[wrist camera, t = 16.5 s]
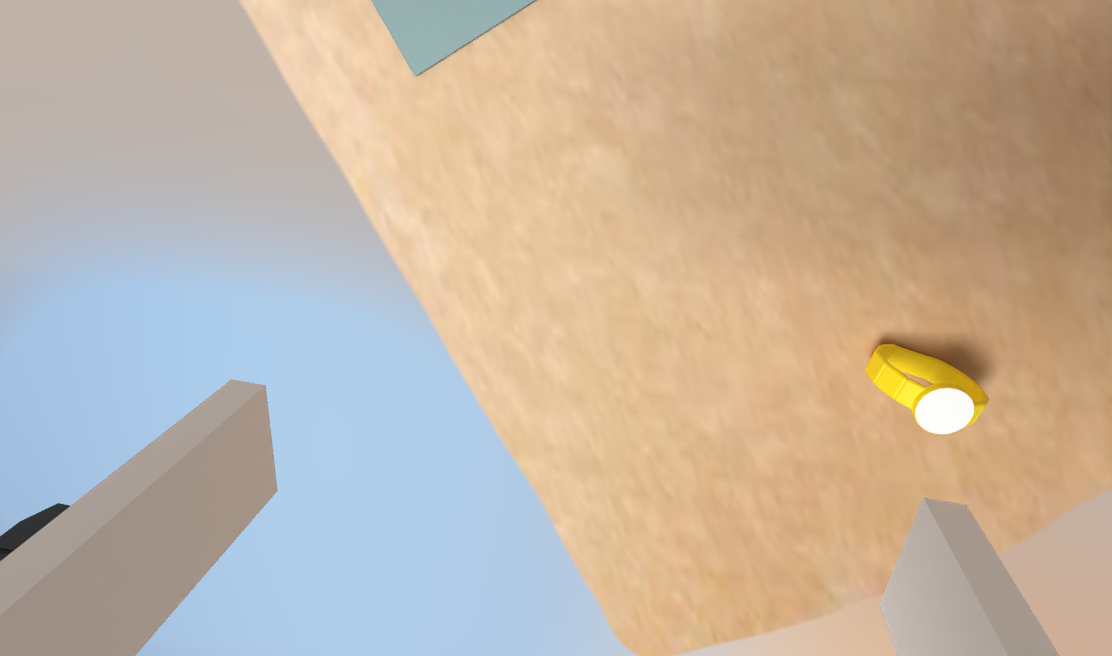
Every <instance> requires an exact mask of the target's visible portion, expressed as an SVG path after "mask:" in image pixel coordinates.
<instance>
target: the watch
mask: <svg viewBox="0 0 1112 656" xmlns="http://www.w3.org/2000/svg"><path fill="white" fill-rule="evenodd" d="M865 370H866V373H867V375H868V376H869V378H870V379H871V380H872V382H873V383H874V384H875V385H876V386H877V387H878V388H879V389H881V390H882V391H883V392H884V393H886V394H887V395H888V396H890V397H891V398H892V399H895V401H897V402H899V403H900V404H902V405H904V406H906V407H908V408H910V409H911V410H912V414H913V416H914V418H915V420H916V422H917V423H918V424H919V425H920V427H921V428H923V429H924V430H926V431H928V432H930V433H935V434H950V433H953V432H956V431H958V430H960V429H962V428H963V427H965V426H966V425H972V424H973V423H974V422H975V420H976V419H977V418H978V416H979V415H980V413H981V412H982V410H983V409H984V408H985V406H986V404H987V402H988V400H989V399H988V396H987V395H986V394H985V392H984V391H983V390H982V388H981V387H980V386H979V385H978V384H977V383H976V382H974V381H973V380H972V379H970V378H969V377H968V376H966V375H965V374H964V373H962V372H960V371H959V370H958V369H956V368H954V367H952V366H950V365H948V364H947V363H945V362H943V361H941V360H939V359H936V358H933V357H930V356H927V355H923V354H920V353H917V352H914V351H911V350H908V349H905V348H902V347H899V346H896V344H884V345H879V346H877V348H876V350H875V352H874V353H873V355H872V357H871V359H870V360H869V362H868V364H867V367H866V369H865ZM900 371H902V372H905V373H908V374H911V375H914V376H917V377H920V378H923V379H926V380H927V381H929V382H931V383H932V385H929V386H927V387H925V386H923V385H921V384H920V383H918V382H916V381H914V380H912V379H910V378H909V379H908V377H907V376H906V375H904V374H903V373H902V372H900Z"/></svg>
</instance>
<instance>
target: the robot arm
mask: <svg viewBox="0 0 1112 656" xmlns="http://www.w3.org/2000/svg"><path fill="white" fill-rule="evenodd" d="M276 492H277V483H276V474H275V466H274V456H273V447H272V438H271V429H270V420H269V411H268V402H267V394H266V386H265V385H260V384H254V383H248V382H242V381H237V380H230V381H229V382H228V383H227V384H225V385H224V386H223V387H221V388H220V389H219V390H218V391H216V392H215V393H214V394H213V395H212V396H210V397H209V398H207V399H206V400H205V401H204V402H202V403H201V404H200V405H199V406H197V407H196V408H195V409H194V410H192V411H191V412H190V413H188V414H187V415H186V416H185V417H183V418H182V419H181V420H179V421H178V422H177V423H176V424H174V425H173V426H172V427H171V428H169V429H168V430H167V431H165V432H164V433H163V434H162V435H160V436H159V437H158V438H157V439H155V440H154V441H153V442H151V443H150V444H149V445H148V446H146V447H145V448H144V449H143V450H141V451H140V452H139V453H137V454H136V455H135V456H134V457H132V458H131V459H130V460H129V461H127V462H126V463H125V464H123V465H122V466H121V467H120V468H118V469H117V470H116V471H115V472H113V473H112V474H111V475H110V476H108V477H107V478H106V479H104V480H103V481H102V482H101V483H99V484H98V485H97V486H96V487H94V488H93V489H92V490H90V491H89V492H88V493H87V494H85V495H84V496H83V497H81V498H80V499H79V500H78V501H76V502H75V503H74V504H73V505H71V506H69V505H64V504H59V503H58V504H56V505H54V506H52V507H49V508H48V509H45V510H43V511H41V512H39V513H37V514H35V515H33V516H31V517H29V518H26V519H24V520H22V521H20V522H19V523H18V524H16V525H15V526H13V527H12V528H11V529H9V530H8V531H7V532H5V533H4V534H3V535H1V536H0V656H135V655H136V654H137V652H139V650H140V649H141V648H142V647H143V646H144V645H145V644H146V642H147V641H148V640H149V639H150V638H151V637H152V635H153V634H154V633H155V632H156V631H157V630H158V628H159V627H160V626H161V625H162V624H163V623H164V622H165V620H166V619H167V618H168V617H169V615H170V614H171V613H172V612H173V611H174V610H175V609H176V608H177V606H178V605H179V604H180V603H181V602H182V601H183V599H184V598H185V597H186V596H187V595H188V594H189V592H190V591H191V590H192V589H193V588H194V587H195V586H196V584H197V583H198V582H199V581H200V580H201V578H202V577H203V576H204V575H205V574H206V573H207V572H208V571H209V569H210V568H211V567H212V566H213V565H214V563H215V562H216V561H217V560H218V559H219V558H220V557H221V556H222V554H223V553H224V552H225V551H226V550H227V548H228V547H229V546H230V545H231V544H232V543H233V542H234V540H235V539H236V538H237V537H238V536H239V535H240V534H241V532H242V531H243V530H244V529H245V528H246V527H247V525H248V524H249V523H250V522H251V521H252V519H253V518H254V517H255V516H256V515H257V514H258V513H259V511H260V510H261V509H262V508H263V507H264V506H265V505H266V503H267V502H268V501H269V500H270V499H271V498H272V497H273V495H274V494H275V493H276ZM879 606H880V608H881V611H882V614H883V617H884V620H885V622H886V625H887V628H888V631H889V634H890V636H891V639H892V642H893V645H894V648H895V650H896V653H897V656H1059V654H1058V653H1057V651H1056V649H1055V648H1054V646H1053V644H1052V643H1051V641H1050V640H1049V638H1048V636H1047V635H1046V633H1045V631H1044V630H1043V628H1042V627H1041V625H1040V623H1039V622H1038V620H1037V619H1036V617H1035V615H1034V614H1033V612H1032V610H1031V609H1030V607H1029V605H1028V604H1027V602H1026V601H1025V599H1024V597H1023V596H1022V594H1021V593H1020V591H1019V589H1018V588H1017V586H1016V584H1015V583H1014V581H1013V580H1012V578H1011V576H1010V575H1009V573H1008V571H1007V570H1006V568H1005V567H1004V565H1003V563H1002V562H1001V560H1000V559H999V557H998V555H997V554H996V552H995V550H994V549H993V547H992V546H991V544H990V542H989V541H988V539H987V537H986V536H985V534H984V533H983V531H982V529H981V528H980V526H979V524H978V523H977V521H976V520H975V518H974V516H973V515H972V513H971V512H970V510H969V508H968V507H967V505H963V504H957V503H951V502H945V501H939V500H933V499H928V498H923V500H922V502H921V505H920V507H919V510H918V512H917V514H916V517H915V519H914V522H913V524H912V526H911V529H910V531H909V534H908V536H907V539H906V541H905V543H904V546H903V548H902V551H901V553H900V555H899V558H898V560H897V563H896V565H895V568H894V570H893V572H892V575H891V577H890V580H889V582H888V584H887V587H886V589H885V592H884V594H883V596H882V599H881V602H880V604H879Z"/></svg>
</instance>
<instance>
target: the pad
mask: <svg viewBox="0 0 1112 656" xmlns="http://www.w3.org/2000/svg"><path fill="white" fill-rule="evenodd" d="M371 1H372V2H373V4H374V6H375V8H376V9H377V11H378V13H379V15H380V16H381V18H382V20H383V22H384V23H385V25H386V27H387V29H388V30H389V32H390V34H391V36H392V37H393V39H394V41H395V43H396V44H397V46H398V48H399V50H400V51H401V53H402V55H403V57H404V58H405V60H406V62H407V64H408V65H409V67H410V69H411V71H412V72H413V74H414V76H417V75H419V74H421V73H422V72H424V71H425V70H427V69H429V68H430V67H432V66H433V65H435V64H436V63H438V62H440V61H441V60H443V59H444V58H446V57H447V56H449V55H451V54H452V53H454V52H455V51H457V50H458V49H460V48H462V47H463V46H465V45H466V44H468V43H469V42H471V41H473V40H474V39H476V38H477V37H479V36H480V35H482V34H484V33H485V32H487V31H488V30H490V29H491V28H493V27H495V26H496V25H498V24H499V23H501V22H502V21H504V20H506V19H507V18H509V17H510V16H512V15H514V14H515V13H517V12H518V11H520V10H521V9H523V8H525V7H526V6H528V5H529V4H531V3H532V2H534V1H536V0H371Z"/></svg>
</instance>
